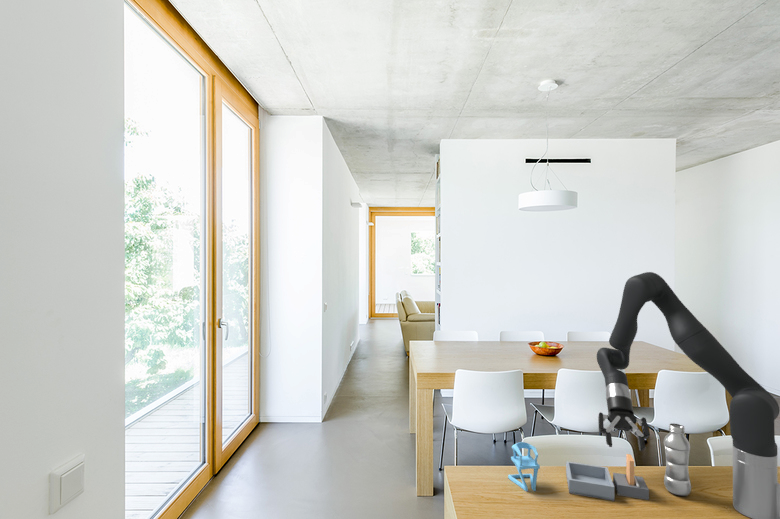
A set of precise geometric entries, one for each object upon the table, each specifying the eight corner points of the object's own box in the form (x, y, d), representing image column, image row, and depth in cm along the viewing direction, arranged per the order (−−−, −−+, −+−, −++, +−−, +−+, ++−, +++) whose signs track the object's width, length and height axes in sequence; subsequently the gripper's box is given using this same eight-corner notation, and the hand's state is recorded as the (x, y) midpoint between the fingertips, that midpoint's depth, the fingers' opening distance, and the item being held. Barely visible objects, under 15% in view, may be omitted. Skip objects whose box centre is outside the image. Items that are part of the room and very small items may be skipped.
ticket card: (630, 487, 125) (630, 454, 125) (634, 495, 120) (634, 461, 120) (626, 486, 125) (626, 453, 125) (629, 494, 121) (629, 460, 121)
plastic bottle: (695, 500, 118) (695, 431, 118) (669, 497, 119) (669, 429, 119) (684, 488, 124) (684, 422, 124) (659, 485, 125) (659, 420, 126)
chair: (518, 492, 122) (518, 452, 122) (507, 477, 130) (507, 440, 130) (543, 490, 123) (543, 451, 123) (530, 476, 131) (531, 439, 131)
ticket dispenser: (642, 486, 125) (642, 474, 125) (649, 500, 118) (648, 487, 118) (613, 482, 128) (613, 470, 128) (617, 495, 120) (617, 482, 120)
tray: (607, 480, 129) (607, 467, 129) (614, 500, 117) (614, 487, 117) (566, 473, 133) (566, 461, 133) (569, 493, 121) (569, 479, 121)
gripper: (596, 392, 139) (602, 439, 128) (644, 397, 134) (654, 446, 123) (594, 403, 144) (599, 449, 133) (640, 407, 139) (649, 456, 128)
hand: (626, 448), depth 128 cm, fingers open, 8 cm apart
